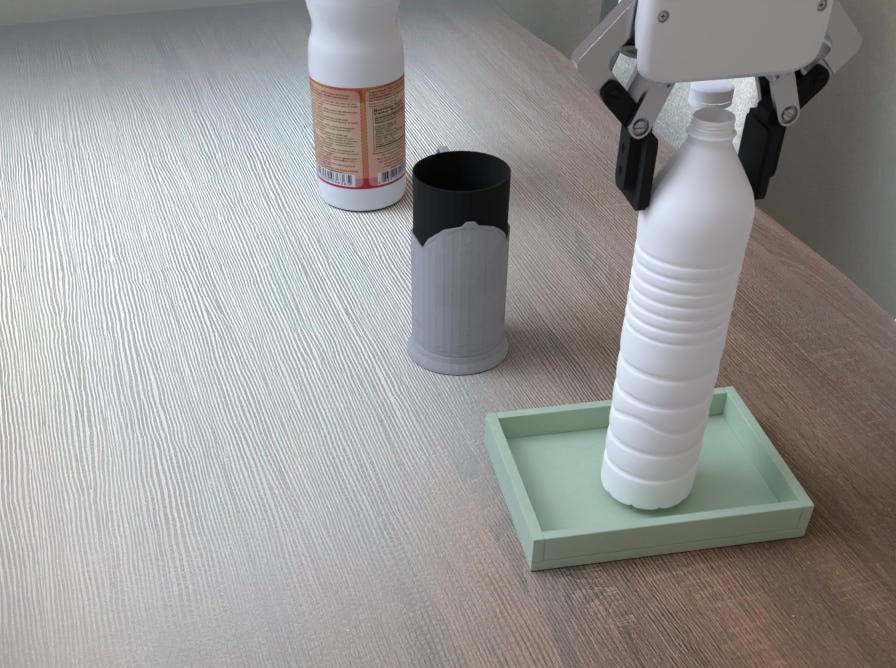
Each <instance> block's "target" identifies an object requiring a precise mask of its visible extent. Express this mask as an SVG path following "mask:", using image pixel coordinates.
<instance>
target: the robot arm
mask: <svg viewBox="0 0 896 668" xmlns="http://www.w3.org/2000/svg"><path fill="white" fill-rule="evenodd" d="M863 41H864V39H863V37H862V34H861V33H860V32H859V30H858V29H857V27H856V25H855V24H854V22H853V21H852V19H851V17H850V16H849V15H848V13H847V11H846V10H845V8H844V6H842V3H841V2H840V1H839V0H618V3H617V5H615V6H614V7H613V9H611V11H610V12H609V13H608V14H607V15H606V16H605V17H604V18H603V19H602V20H601V21H600V23H598V25H597V26H596V27H595V28H594V29H592V31H591V32H590V33H589V34H588V35H587V36H586V38H584V40H582V42H581V43H579V45H578V46H577V47H576V48H575V49H574V51H573V52H572V54H571V56H570V61H571V64H572V66H573V67H574V69H576V71H577V72H578V73H579V75H580V76H581V77H582V78H583V80H585V82H586V83H587V84H588V85H589V87H590V88H591V89H592V90H593V92H594V93H595V94H596V95H597V96H598V98H599V99H600V100H601V101H602V103H603V104H604V106H606V108H607V109H608V110H609V111H610V112H611V113H612V115H614V117H615V118H616V119H617V120H618V121H619V123H620V124H621V125H620V134H619V141H618V149H617V156H616V165H615V172H614V181H615V185H616V188H617V189H618V190H619V191H620V192H621V193H622V195H623V196H624V197H625V199H626V200H627V202H628V204H629V205H630V206H631V208H632V209H633V210H634V212H639V211H642V210H645V209H646V208H647V207H648V206H649V202H650V196H651V189H652V183H653V178H654V176H655V171H656V170H655V169H656V163H657V157H658V151H659V139H658V137H657V136H656V135H655V133H653V129H654V125H655V123H656V121H657V119H658V117H659V115H660V113H661V112H662V110H663V108H664V106H665V104H666V102H667V100H668V98H669V96H670V95H671V93H672V90H673V89H674V87H675V85H676V84H680V83H692V82H695V81H709V80H722V79H724V80H733V79H746V78H747V79H748V78H754V82H755V87H756V93H757V98H758V102H757V105H756V106H754V107H749V111H748V112H747V113H746V115H745V117H744V118H745V119H744V123H743V129H742V133H741V137H740V142H739V147H738V152H737V155H738V157H739V159H740V162H741V164H742V166H743V168H744V171H745V173H746V175H747V178H748V180H749V182H750V185H751V187H752V190H753V194H754V201H759V200H764V199H765V198H766V196H767V191H768V188H769V184H770V180H771V178H773V177H774V176H775V175H776V172H777V168H778V164H779V160H780V156H781V153H782V147H783V144H784V139H785V135H786V131H787V128H788V127H790V126H792V125H793V124H795V123H796V122H797V121H798V119H799V118H800V115H801V110H802V109H803V108H804V107H805V106H806V105H807V104H808V103H809V102H810V101H811V100H812V99H813V98H814V97H816V96H817V94H818V93H820V92H821V91H822V90H823V89H824V88H825V87H826V85H827V84H828V83H829V80H830V77H831V76H832V75H835V74H836V73H837V72H838V71H839V70H841V68H843V67H844V66H845V64H847V63H848V62H849V61H850V60H851V59H852V58H853V57H854V56H855V55H856V54H857V53H858V52H859V50H861V48H862V45H863ZM618 52H619V53H620V54H621V55H622V56H624V57H627V58H630V59H633V60H636V64H635V66H634V68H633V70H632V72H631V74H630V76H629V77H628V80H627V82H626V84H625V86H623V84H622V83H621V82H620V81H619V80H618V78H617V77H616V75H615V74H614V73H613V71H612V70H611V68H610V64H611V63H610V62H611V60H612V58H613V57H614V56H615V54H617V53H618Z"/></svg>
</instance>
